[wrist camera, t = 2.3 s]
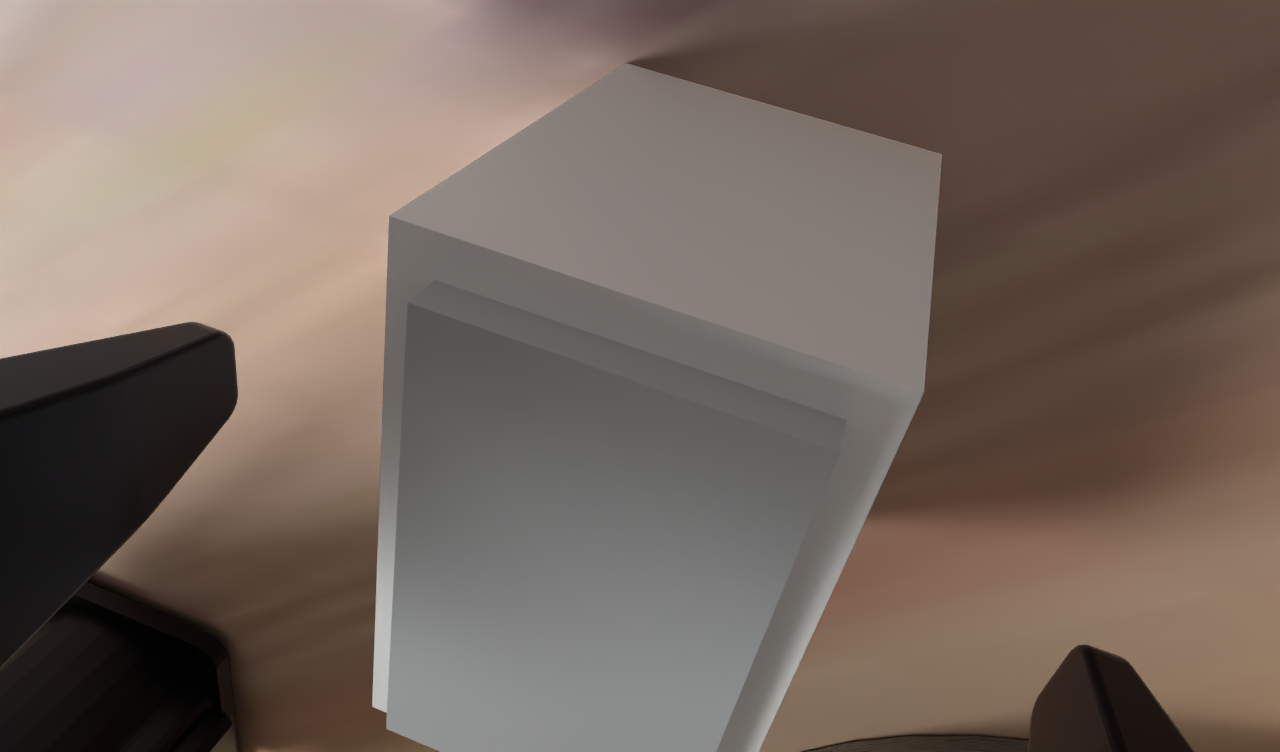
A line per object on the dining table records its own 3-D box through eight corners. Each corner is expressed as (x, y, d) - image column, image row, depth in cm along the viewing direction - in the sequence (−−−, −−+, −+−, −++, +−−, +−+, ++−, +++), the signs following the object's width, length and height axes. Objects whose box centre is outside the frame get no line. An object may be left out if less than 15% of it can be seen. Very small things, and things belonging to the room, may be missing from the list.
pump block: (560, 432, 14) (351, 736, 10) (627, 63, 11) (359, 235, 6) (796, 517, 14) (703, 888, 9) (942, 153, 10) (921, 425, 6)
